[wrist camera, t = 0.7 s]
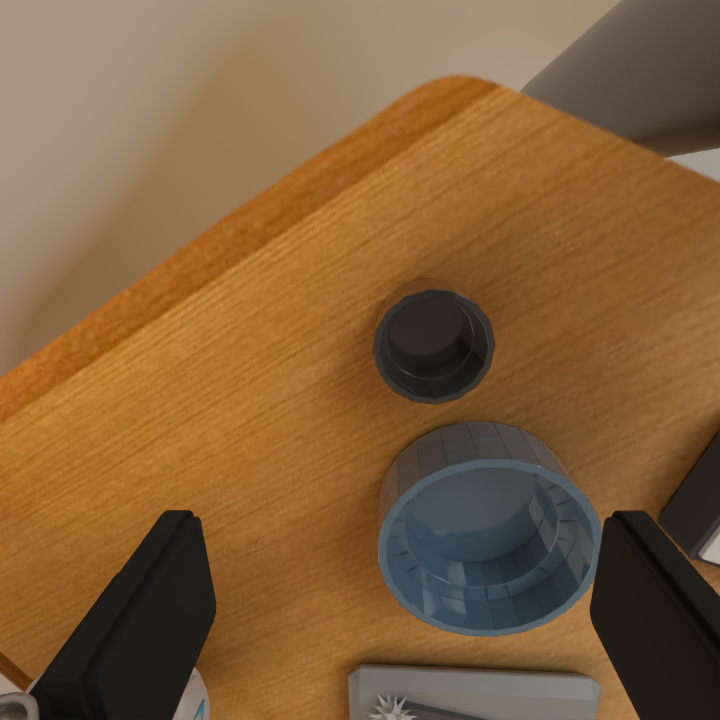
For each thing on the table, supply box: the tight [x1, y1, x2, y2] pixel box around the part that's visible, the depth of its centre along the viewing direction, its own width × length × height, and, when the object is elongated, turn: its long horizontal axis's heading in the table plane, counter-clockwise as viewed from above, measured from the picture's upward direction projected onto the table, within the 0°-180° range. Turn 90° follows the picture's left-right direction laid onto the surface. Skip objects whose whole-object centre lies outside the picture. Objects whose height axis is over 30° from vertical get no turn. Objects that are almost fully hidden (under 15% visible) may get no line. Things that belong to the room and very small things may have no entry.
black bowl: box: [373, 278, 495, 404], centre depth 27 cm, size 7×7×4 cm
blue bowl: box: [377, 422, 602, 637], centre depth 31 cm, size 14×14×6 cm
